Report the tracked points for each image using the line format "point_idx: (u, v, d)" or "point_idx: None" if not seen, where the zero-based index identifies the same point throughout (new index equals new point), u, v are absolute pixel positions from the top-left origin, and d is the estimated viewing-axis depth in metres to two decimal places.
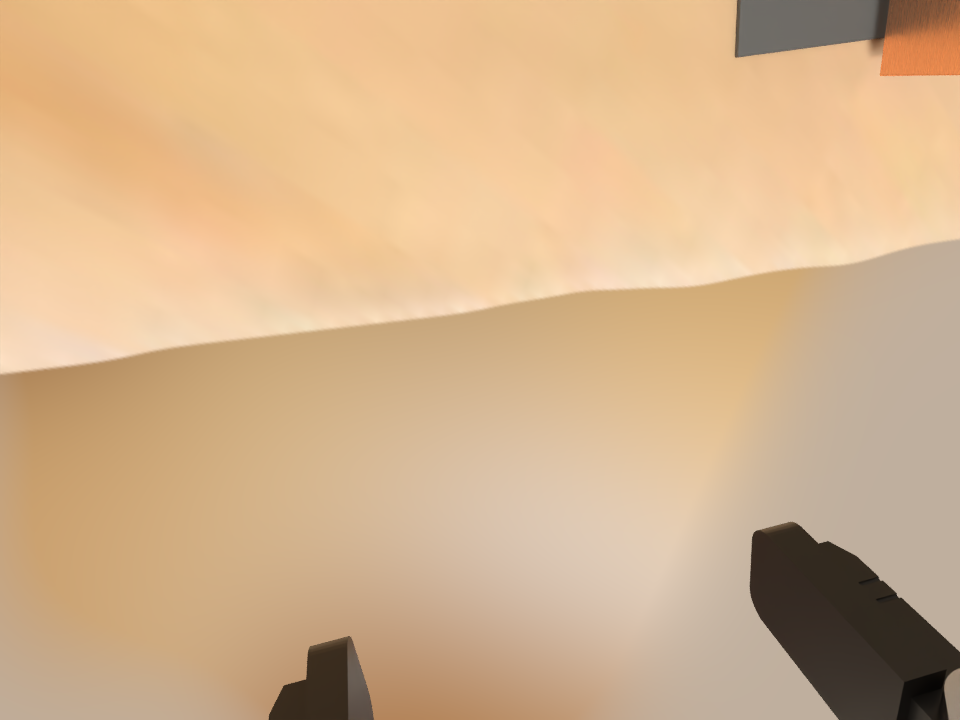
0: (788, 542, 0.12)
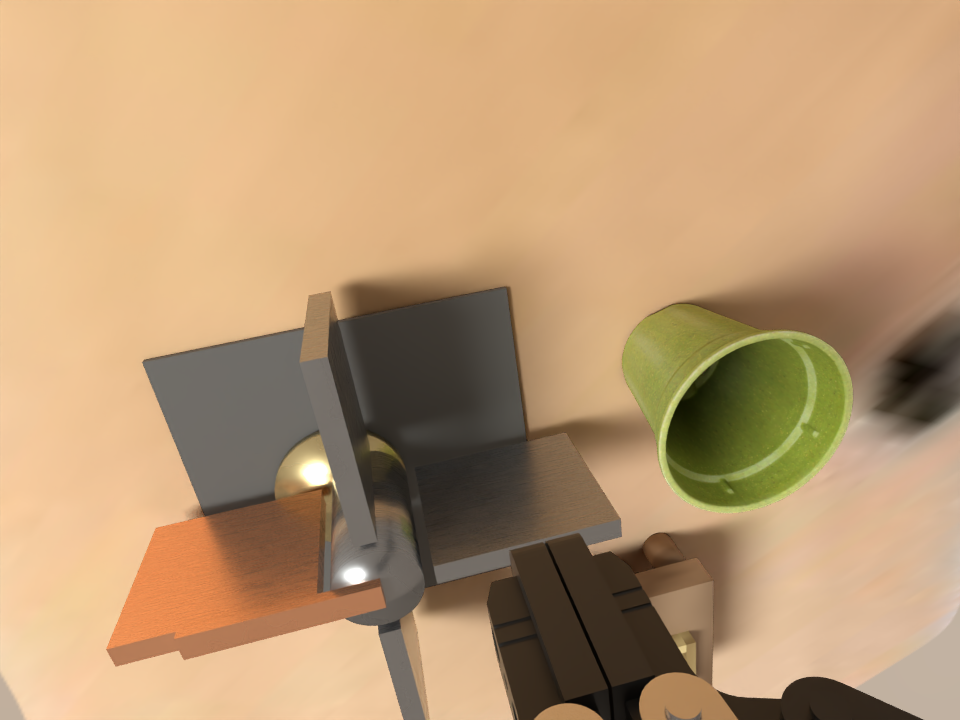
0: (565, 553, 0.12)
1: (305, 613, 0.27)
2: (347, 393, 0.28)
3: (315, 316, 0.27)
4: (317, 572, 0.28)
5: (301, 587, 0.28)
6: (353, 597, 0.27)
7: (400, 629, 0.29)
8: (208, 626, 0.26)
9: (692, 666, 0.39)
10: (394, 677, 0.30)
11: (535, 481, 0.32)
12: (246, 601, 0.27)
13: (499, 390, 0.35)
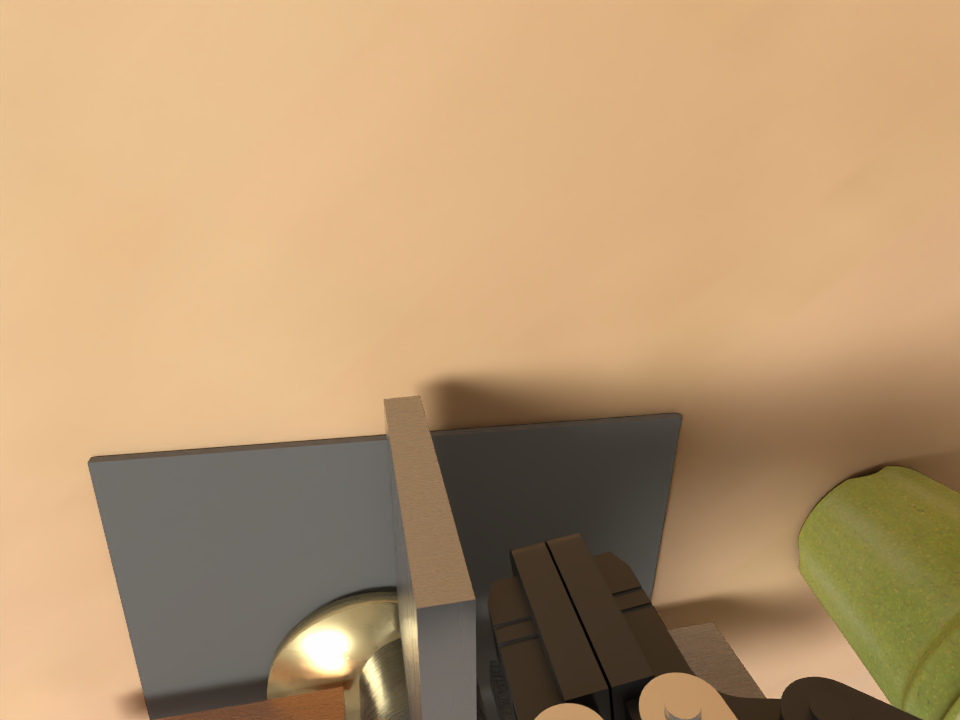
0: (564, 553, 0.12)
1: None
2: None
3: (410, 457, 0.15)
4: None
5: None
6: None
7: None
8: None
9: None
10: None
11: None
12: None
13: (629, 557, 0.23)
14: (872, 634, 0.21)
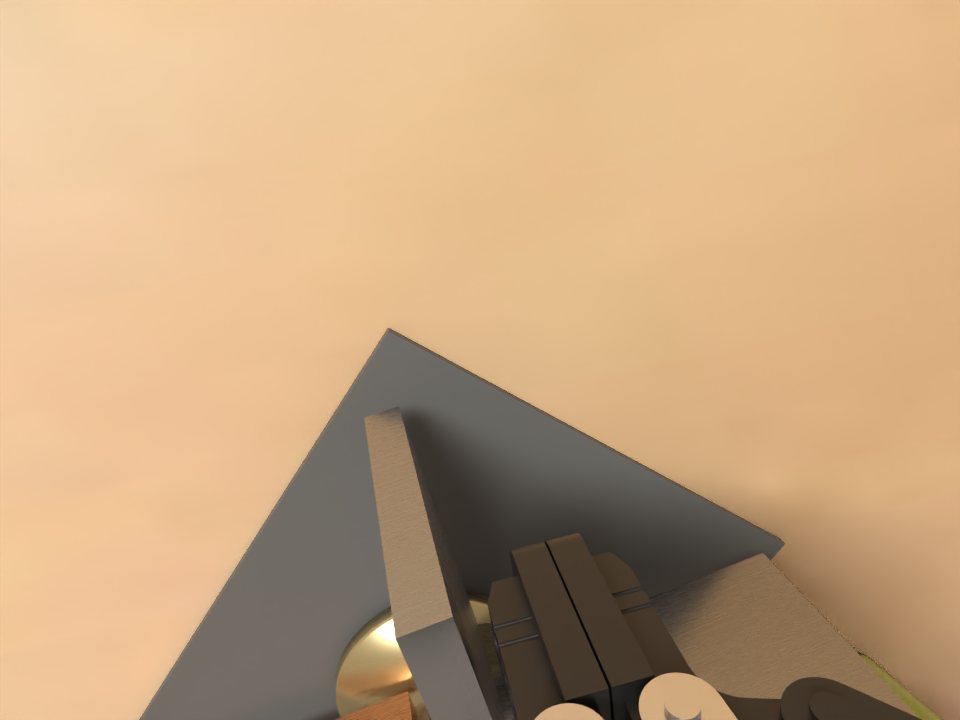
0: (564, 553, 0.12)
1: None
2: (461, 602, 0.15)
3: (390, 475, 0.15)
4: None
5: None
6: None
7: None
8: None
9: None
10: None
11: (756, 663, 0.20)
12: None
13: None
14: None
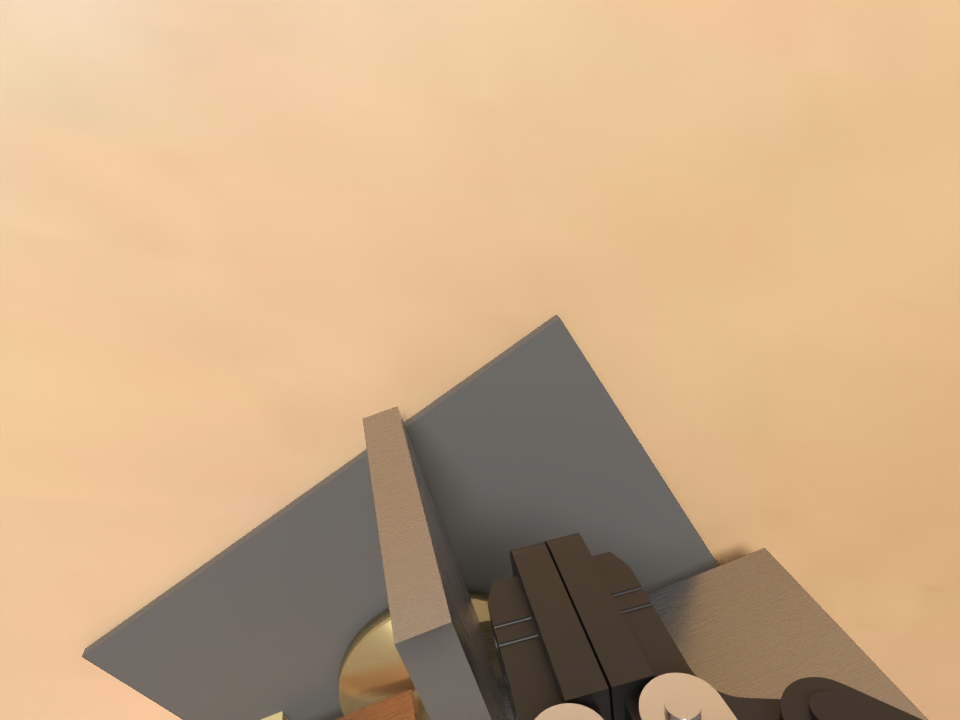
0: (564, 553, 0.12)
1: None
2: (461, 603, 0.15)
3: (389, 478, 0.15)
4: None
5: None
6: None
7: None
8: None
9: None
10: None
11: (758, 659, 0.20)
12: None
13: None
14: None
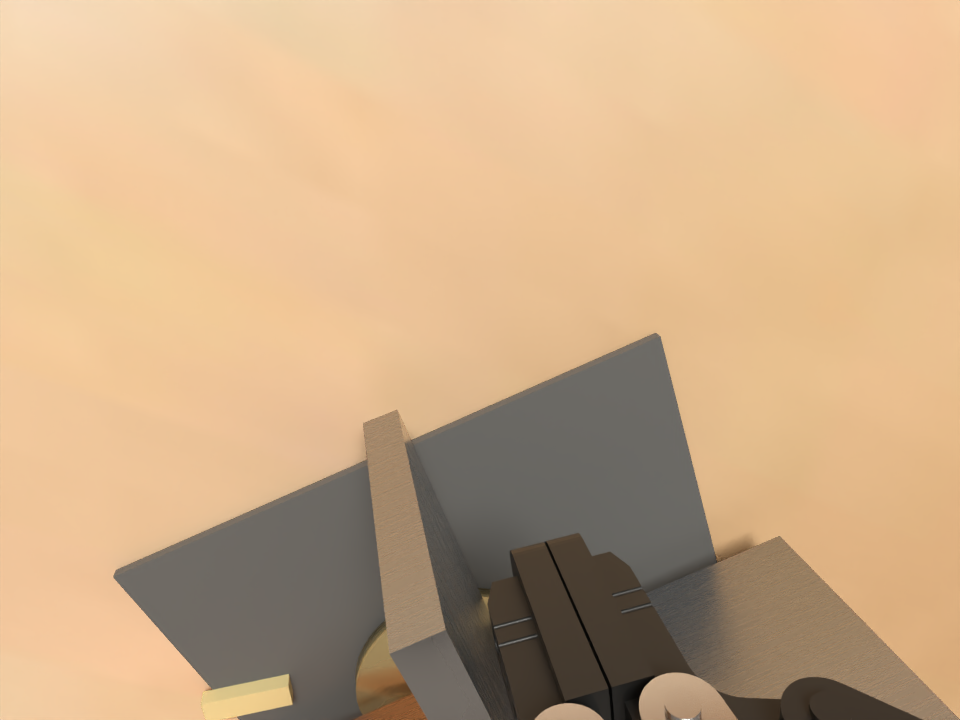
0: (564, 553, 0.12)
1: None
2: (466, 605, 0.15)
3: (387, 483, 0.15)
4: None
5: None
6: None
7: None
8: None
9: None
10: None
11: (773, 649, 0.20)
12: None
13: None
14: None
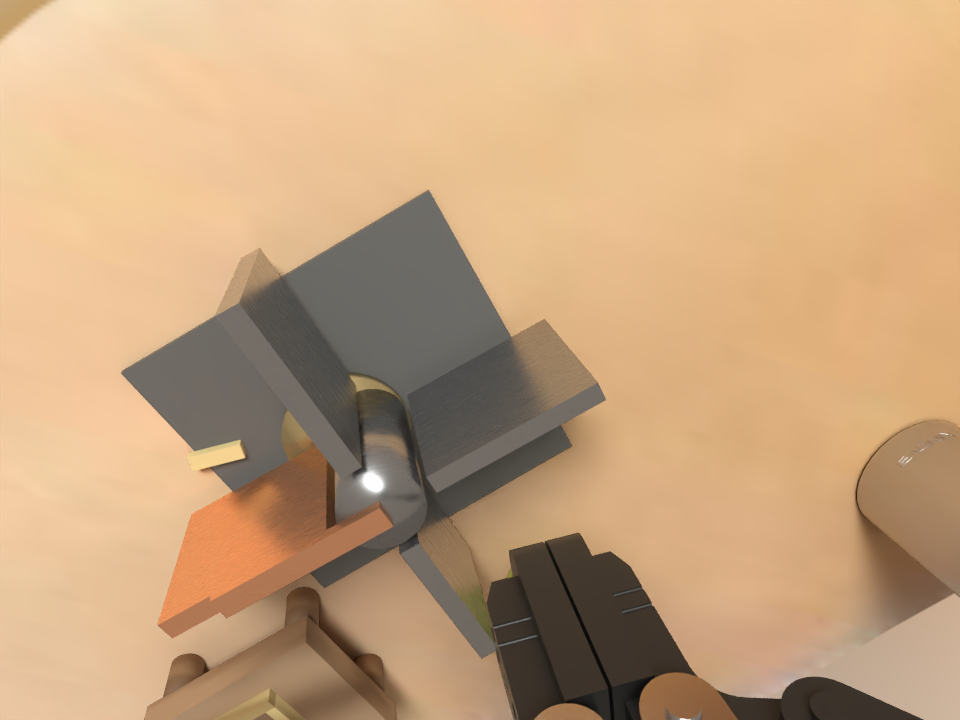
0: (564, 553, 0.12)
1: (319, 550, 0.28)
2: (295, 337, 0.28)
3: (240, 273, 0.27)
4: (326, 512, 0.29)
5: (312, 528, 0.29)
6: (358, 524, 0.28)
7: (419, 544, 0.29)
8: (236, 583, 0.28)
9: None
10: (431, 590, 0.31)
11: (517, 373, 0.32)
12: (267, 553, 0.29)
13: (484, 479, 0.40)
14: None
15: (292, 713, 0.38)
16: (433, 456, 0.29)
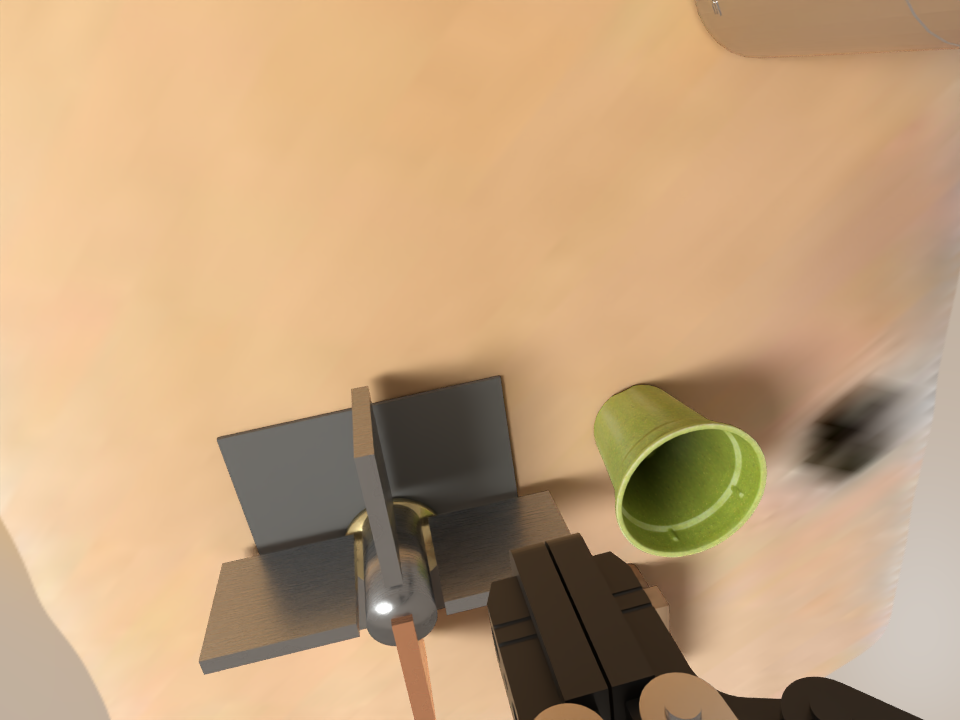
0: (564, 553, 0.12)
1: (408, 665, 0.37)
2: (267, 599, 0.38)
3: None
4: None
5: None
6: (399, 640, 0.36)
7: (445, 601, 0.36)
8: (412, 708, 0.39)
9: None
10: None
11: None
12: None
13: (495, 454, 0.44)
14: (609, 472, 0.41)
15: None
16: None
